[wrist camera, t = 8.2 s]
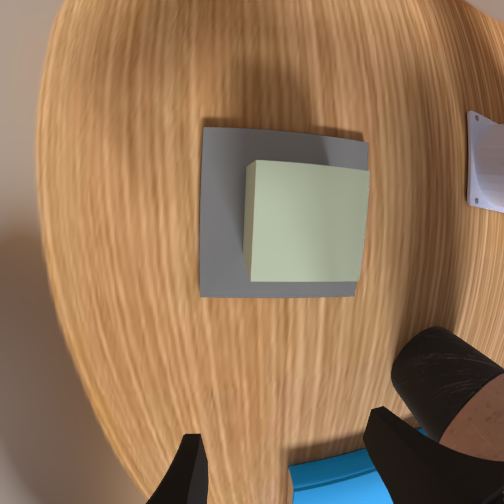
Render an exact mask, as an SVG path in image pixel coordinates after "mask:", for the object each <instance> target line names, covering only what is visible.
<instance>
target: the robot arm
mask: <svg viewBox="0 0 504 504" xmlns="http://www.w3.org/2000/svg"><path fill="white" fill-rule="evenodd" d="M467 120H468V148H469V162H468V189H467V203H468V205H470V206H475V207H480V208H485V209H489V210H494V211H499V212H503V213H504V124H497V123H496V122H494V121H492V120H490V119H488V118H486V117H484V116H482V115H480V114H478V113H476V112H474V111H468V113H467ZM363 440H364V443H365V446H366V449H367V452H368V454H369V457H370V459H371V461H372V463H373V464H374V466H375V468H376V470H377V472H378V474H379V475H380V477H381V479H382V481H383V483H384V485H385V486H386V488H387V490H388V492H389V494H390V497H391V499H392V502H393V504H504V500H503V499H504V493H503V492H504V461H493V460H487V459H482V458H477V457H473V456H470V455H467V454H464V453H461V452H458V451H455V450H453V449H450V448H448V447H446V446H444V445H442V444H440V443H438V442H436V441H434V440H432V439H430V438H429V437H427V436H425V435H424V434H422V433H420V432H419V431H417V430H416V429H414V428H413V427H411V426H410V425H409V424H407V423H406V422H404V421H403V420H402V419H400V418H399V417H397V416H396V415H395V414H393V413H392V412H391V411H389V410H388V409H387V408H385V407H384V406H382V407H379V408H375V409H371V413H370V416H369V420H368V423H367V426H366V430H365V433H364V436H363ZM207 494H208V460H207V457H206V453H205V449H204V445H203V442H202V438H201V434H185V435H183V438H182V441H181V444H180V446H179V449H178V451H177V453H176V455H175V457H174V460H173V462H172V463H171V465H170V467H169V469H168V471H167V473H166V475H165V476H164V478H163V480H162V481H161V483H160V484H159V486H158V488H157V489H156V491H155V492H154V493H153V495H152V496H151V498H150V499H149V500H148V501H147V503H146V504H207Z"/></svg>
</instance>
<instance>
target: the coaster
mask: <svg viewBox="0 0 504 504" xmlns="http://www.w3.org/2000/svg"><path fill="white" fill-rule="evenodd" d="M255 160H267V161H282V162H294V163H305V164H316V165H325V166H334V167H342V168H350V169H358V170H365V171H368V142H362V141H356V140H350V139H344V138H337V137H330V136H323V135H315V134H307V133H298V132H288V131H277V130H264V129H248V128H224V127H204V129H203V147H202V169H201V198H200V297H219V298H310V297H349V296H355V289H356V283H357V281H345V282H251V281H250V277H249V274H248V270H247V267H246V263H245V259H244V256H243V236H244V212H245V189H246V167H247V166H248V165H250V164H251V163H252V162H254V161H255Z"/></svg>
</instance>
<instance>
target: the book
mask: <svg viewBox="0 0 504 504" xmlns="http://www.w3.org/2000/svg"><path fill="white" fill-rule="evenodd" d="M417 431H419V432H420V433H422V434H424V435H425V436H427V434H426V433H425V431H424V430H423V428H420V429H418V430H417ZM427 437H428V436H427ZM287 504H393V502H392V499H391V497H390V494H389V492H388V490H387V488H386V486H385V485H384V483H383V481H382V479H381V477H380V475H379V474H378V472H377V470H376V468H375V466H374V464H373V463H372V461H371V459H370V457H369V454H368V452H367V449H366V448H365V449H362V450H358V451H355V452H351V453H348V454H344V455H340V456H336V457H332V458H328V459H324V460H319V461H314V462H310V463H305V464H299V465H294V466H288V492H287Z"/></svg>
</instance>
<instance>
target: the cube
mask: <svg viewBox="0 0 504 504" xmlns="http://www.w3.org/2000/svg"><path fill="white" fill-rule="evenodd" d="M369 181H370V171H365V170H358V169H350V168H342V167H334V166H325V165H316V164H305V163H294V162H282V161H267V160H255V161H254V162H252V163H251V164H250V165H248V166H247V167H246V189H245V212H244V236H243V256H244V259H245V263H246V267H247V270H248V274H249V277H250V281H251V282H345V281H359V278H360V271H361V264H362V256H363V248H364V240H365V231H366V221H367V210H368V197H369Z"/></svg>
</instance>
